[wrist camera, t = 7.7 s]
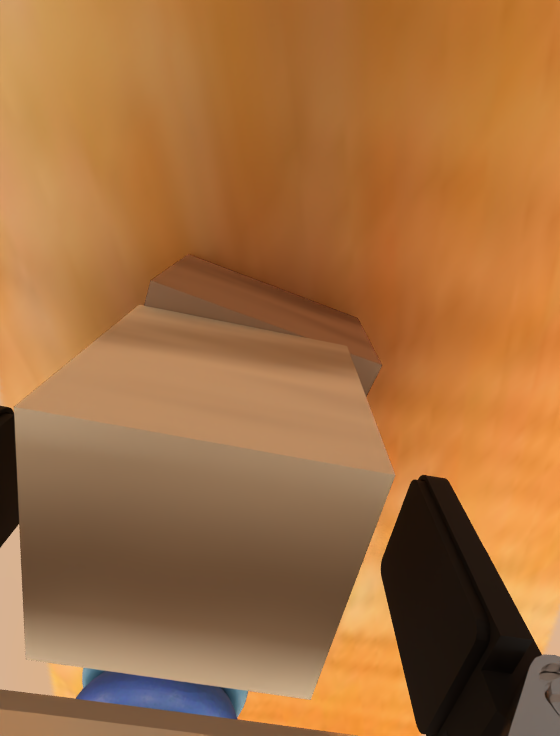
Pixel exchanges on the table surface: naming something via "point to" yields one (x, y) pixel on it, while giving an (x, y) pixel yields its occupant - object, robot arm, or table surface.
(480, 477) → the table surface
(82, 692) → the stacking toy
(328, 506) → the maple block
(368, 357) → the walnut base
